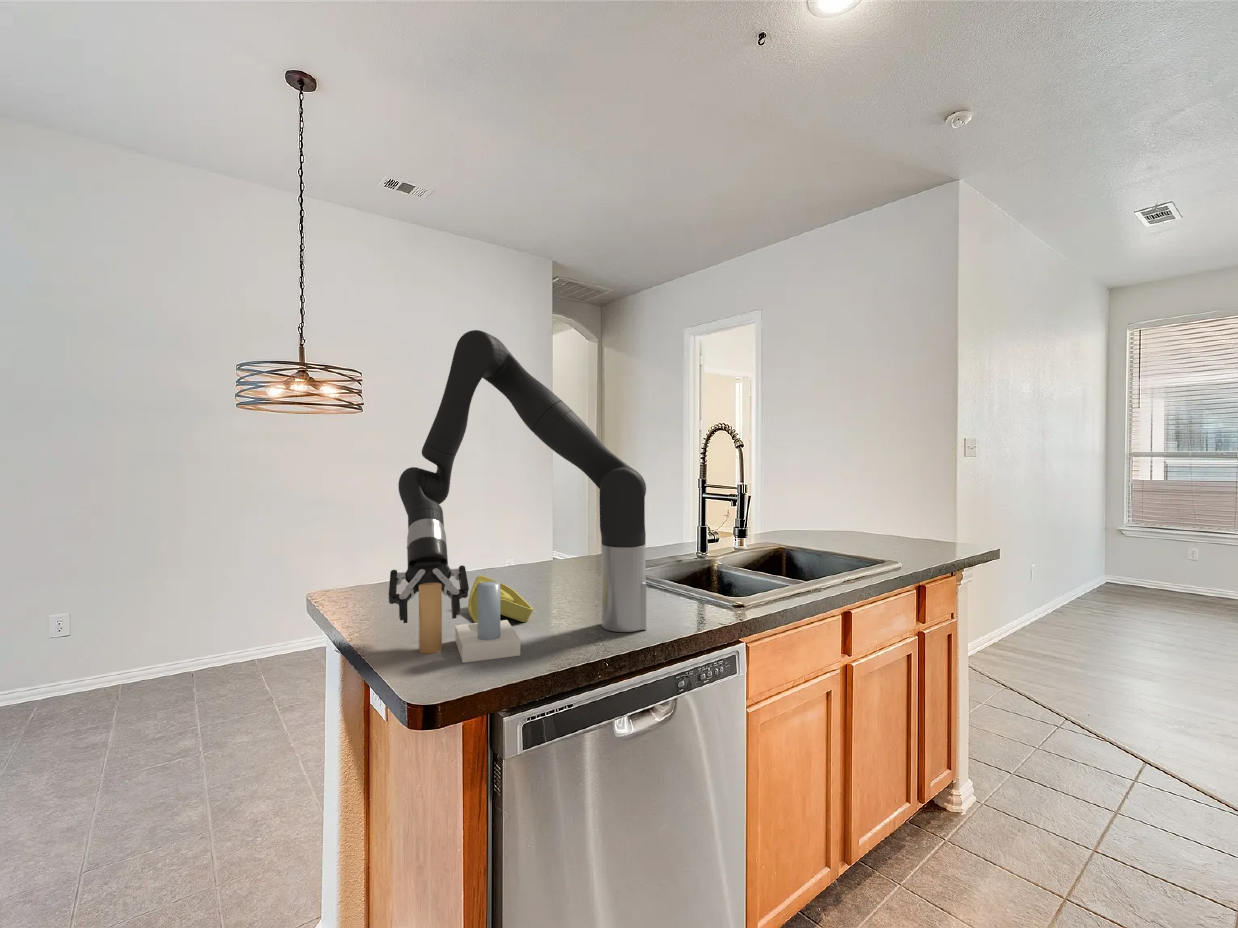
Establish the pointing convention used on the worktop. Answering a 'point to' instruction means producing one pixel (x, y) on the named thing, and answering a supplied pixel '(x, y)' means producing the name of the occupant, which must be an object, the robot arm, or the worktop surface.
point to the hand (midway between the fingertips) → (430, 618)
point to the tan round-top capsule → (430, 618)
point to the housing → (487, 630)
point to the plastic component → (501, 602)
